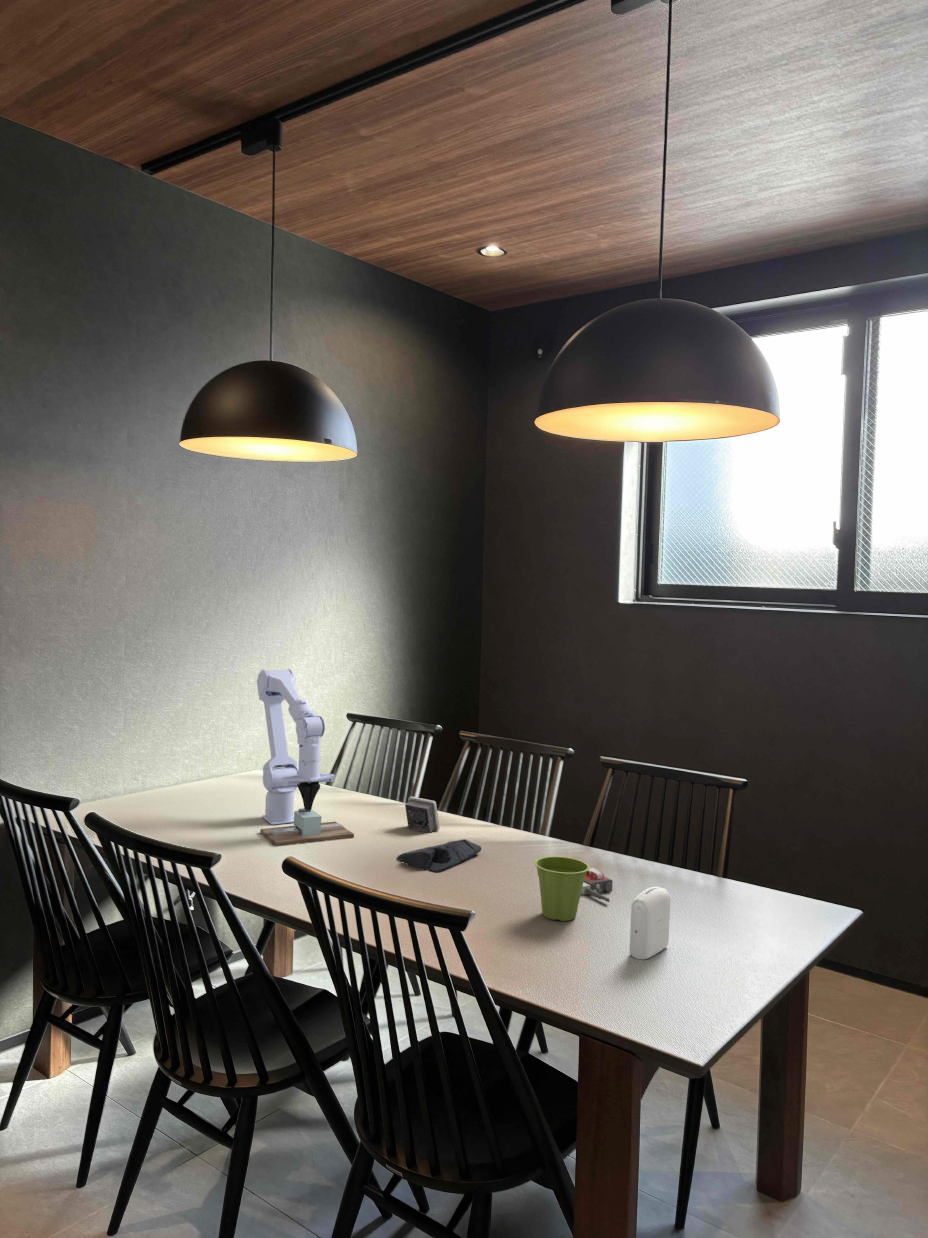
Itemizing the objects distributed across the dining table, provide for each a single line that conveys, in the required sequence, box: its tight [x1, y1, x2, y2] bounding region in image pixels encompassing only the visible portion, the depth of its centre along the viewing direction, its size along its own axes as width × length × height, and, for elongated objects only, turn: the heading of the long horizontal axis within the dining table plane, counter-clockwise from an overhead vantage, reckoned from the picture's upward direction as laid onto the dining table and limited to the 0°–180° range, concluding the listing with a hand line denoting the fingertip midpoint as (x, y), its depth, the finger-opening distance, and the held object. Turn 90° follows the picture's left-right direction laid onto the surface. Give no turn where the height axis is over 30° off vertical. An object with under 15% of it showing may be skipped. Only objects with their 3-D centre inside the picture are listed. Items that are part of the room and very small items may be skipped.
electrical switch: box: [404, 795, 440, 834], centre depth 258 cm, size 9×5×9 cm, turn 57°
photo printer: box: [629, 886, 671, 961], centre depth 177 cm, size 10×4×12 cm, turn 140°
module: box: [293, 807, 322, 836], centre depth 249 cm, size 8×5×6 cm, turn 29°
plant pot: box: [534, 855, 591, 922], centre depth 194 cm, size 12×12×11 cm
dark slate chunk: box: [396, 839, 482, 873], centre depth 233 cm, size 15×22×5 cm
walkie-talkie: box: [581, 867, 614, 903], centre depth 212 cm, size 9×4×20 cm
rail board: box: [259, 821, 355, 847], centre depth 249 cm, size 14×22×2 cm, turn 119°
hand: (307, 809), depth 249 cm, fingers closed
